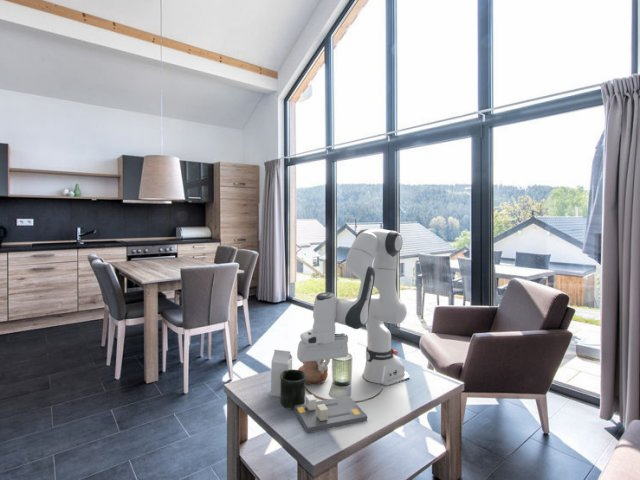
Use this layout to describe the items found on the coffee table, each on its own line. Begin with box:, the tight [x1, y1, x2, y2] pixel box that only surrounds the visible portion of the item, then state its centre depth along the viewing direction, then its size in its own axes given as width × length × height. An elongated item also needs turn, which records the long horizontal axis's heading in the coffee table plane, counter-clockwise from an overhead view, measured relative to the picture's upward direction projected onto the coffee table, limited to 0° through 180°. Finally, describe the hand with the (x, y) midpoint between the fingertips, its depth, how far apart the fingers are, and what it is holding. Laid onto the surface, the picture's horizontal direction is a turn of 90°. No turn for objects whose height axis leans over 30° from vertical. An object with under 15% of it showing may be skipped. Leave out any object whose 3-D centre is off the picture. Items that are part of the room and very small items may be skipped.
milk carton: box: [270, 349, 293, 398], centre depth 162 cm, size 7×7×19 cm
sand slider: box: [316, 404, 328, 421], centre depth 140 cm, size 3×4×4 cm
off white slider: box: [305, 394, 317, 410], centre depth 147 cm, size 3×4×4 cm
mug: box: [279, 369, 307, 410], centre depth 155 cm, size 11×15×12 cm
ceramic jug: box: [297, 360, 329, 385], centre depth 175 cm, size 18×14×14 cm
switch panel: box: [293, 395, 368, 434], centre depth 146 cm, size 24×16×2 cm, turn 111°
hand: (322, 369), depth 146 cm, fingers closed
